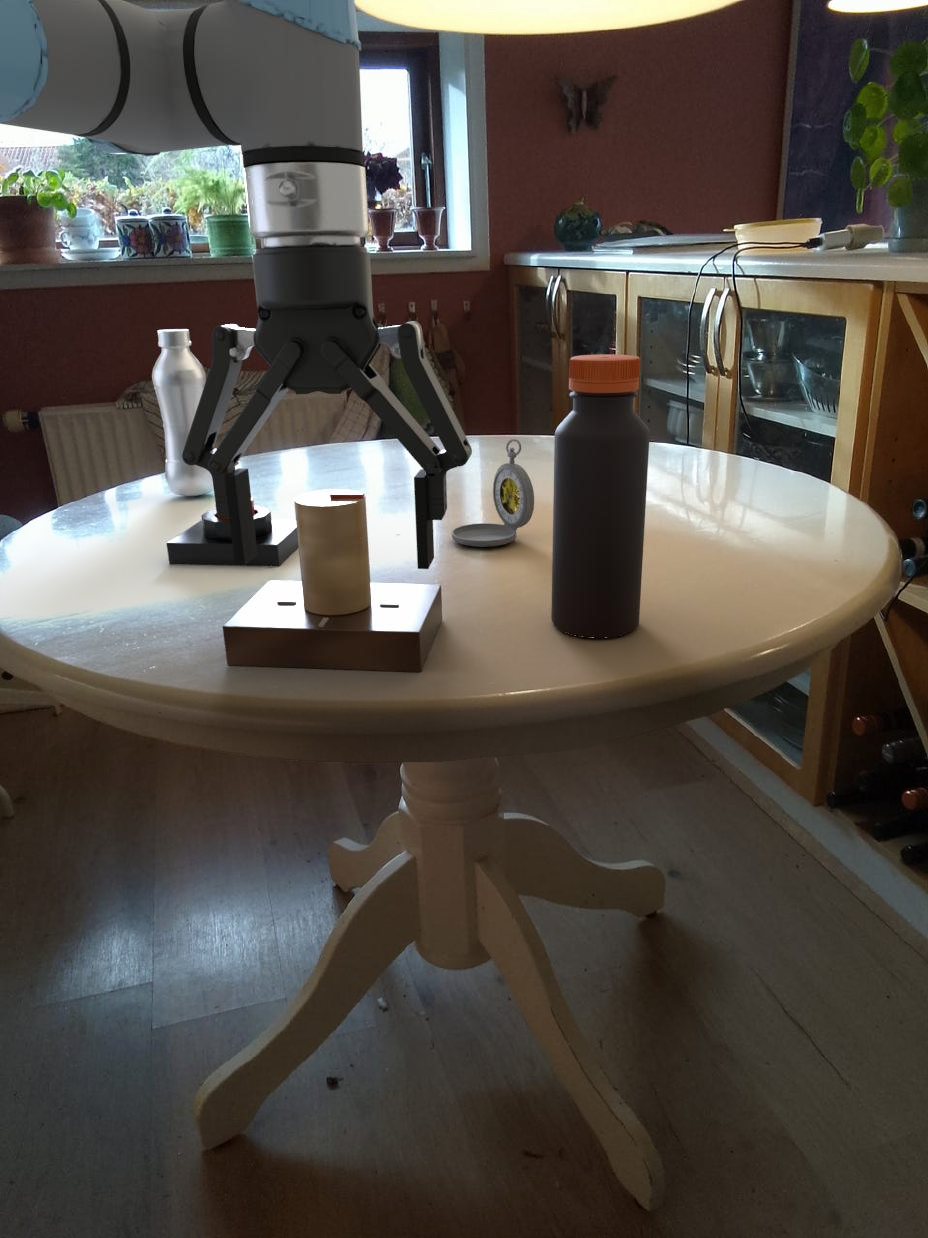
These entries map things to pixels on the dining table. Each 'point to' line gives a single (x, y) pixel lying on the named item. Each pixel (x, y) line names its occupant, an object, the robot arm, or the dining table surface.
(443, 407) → the robot arm
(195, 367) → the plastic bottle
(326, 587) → the wood knob
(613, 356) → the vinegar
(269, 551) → the button box
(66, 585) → the dining table surface
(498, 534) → the pocket watch
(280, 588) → the knob panel
